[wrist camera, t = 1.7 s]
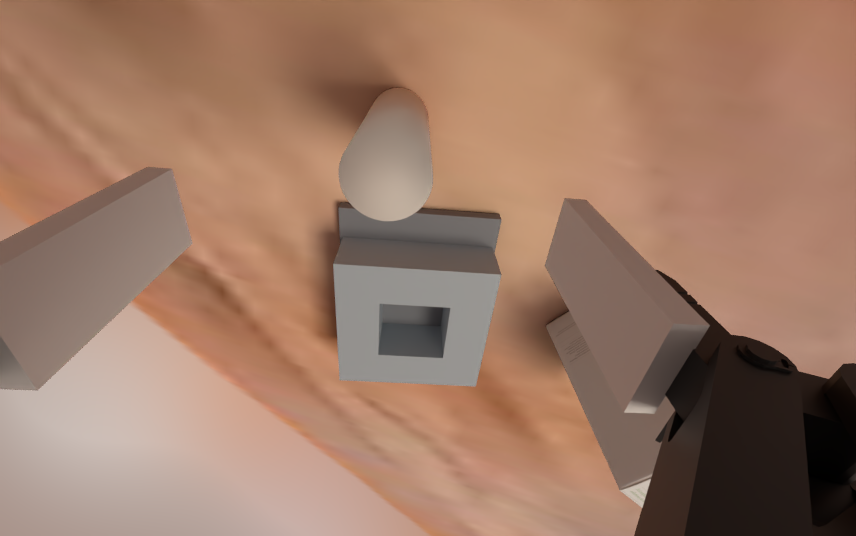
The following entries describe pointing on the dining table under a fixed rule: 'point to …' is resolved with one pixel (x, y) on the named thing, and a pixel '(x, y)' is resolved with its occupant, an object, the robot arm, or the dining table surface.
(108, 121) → the dining table surface
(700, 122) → the dining table surface
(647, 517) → the robot arm
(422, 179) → the dowel
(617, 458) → the skincare box
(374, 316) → the socket
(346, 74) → the dining table surface
